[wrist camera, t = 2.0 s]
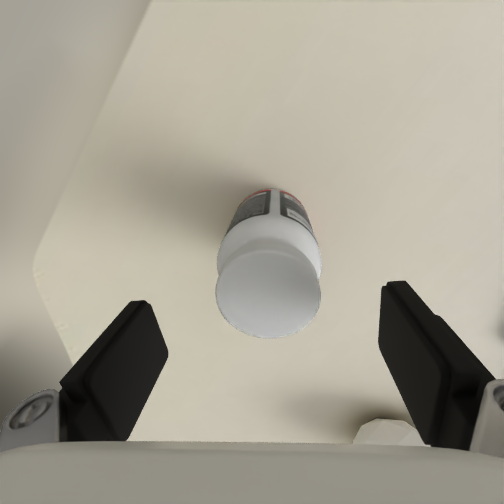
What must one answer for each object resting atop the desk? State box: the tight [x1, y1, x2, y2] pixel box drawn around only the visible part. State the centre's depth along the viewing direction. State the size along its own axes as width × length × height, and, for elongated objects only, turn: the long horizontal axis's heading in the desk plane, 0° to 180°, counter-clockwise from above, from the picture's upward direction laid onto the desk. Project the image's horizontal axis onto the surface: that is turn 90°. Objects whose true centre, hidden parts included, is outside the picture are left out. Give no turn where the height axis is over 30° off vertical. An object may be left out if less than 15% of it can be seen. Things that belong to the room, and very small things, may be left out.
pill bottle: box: [215, 189, 322, 338], centre depth 16 cm, size 6×6×10 cm
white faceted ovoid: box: [352, 418, 431, 447], centre depth 25 cm, size 9×9×12 cm
